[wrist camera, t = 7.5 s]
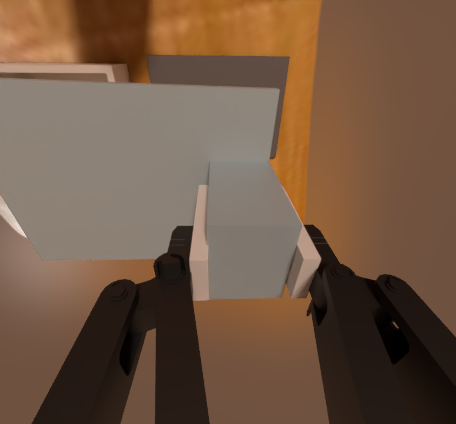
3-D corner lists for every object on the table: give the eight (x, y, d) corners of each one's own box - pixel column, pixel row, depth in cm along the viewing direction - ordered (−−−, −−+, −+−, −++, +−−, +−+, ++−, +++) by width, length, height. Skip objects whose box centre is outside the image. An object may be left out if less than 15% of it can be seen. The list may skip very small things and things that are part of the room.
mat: (164, 158, 39) (163, 159, 39) (146, 55, 31) (146, 55, 30) (274, 156, 41) (275, 157, 40) (288, 56, 32) (289, 56, 32)
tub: (37, 154, 38) (12, 169, 33) (-9, 62, 30) (-52, 63, 25) (145, 153, 39) (136, 167, 34) (126, 63, 31) (111, 65, 26)
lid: (56, 242, 21) (-33, 346, 13) (-35, 74, 13) (-363, 94, 6) (251, 242, 22) (270, 337, 15) (271, 85, 14) (334, 115, 7)
